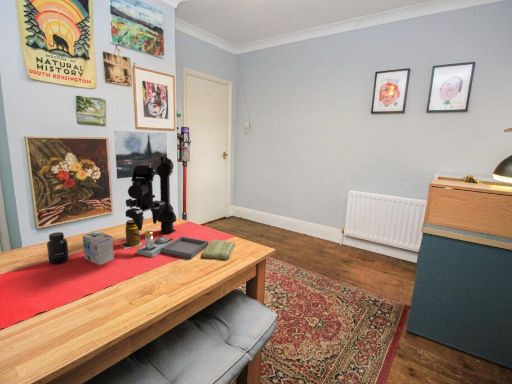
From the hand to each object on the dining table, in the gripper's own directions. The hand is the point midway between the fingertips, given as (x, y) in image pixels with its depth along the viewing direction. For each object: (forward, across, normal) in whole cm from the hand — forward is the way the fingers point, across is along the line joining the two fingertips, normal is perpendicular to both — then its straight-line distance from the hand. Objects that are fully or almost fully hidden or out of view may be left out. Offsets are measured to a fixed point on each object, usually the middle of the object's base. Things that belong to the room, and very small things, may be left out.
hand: (147, 227), depth 120 cm
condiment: (+13, -4, -14) cm, 19 cm away
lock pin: (+12, 0, 0) cm, 12 cm away
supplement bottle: (+12, +22, -27) cm, 37 cm away
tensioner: (+12, -5, 0) cm, 13 cm away
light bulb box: (+13, +14, -14) cm, 23 cm away
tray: (+12, -10, +13) cm, 21 cm away
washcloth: (+13, -15, +28) cm, 35 cm away
